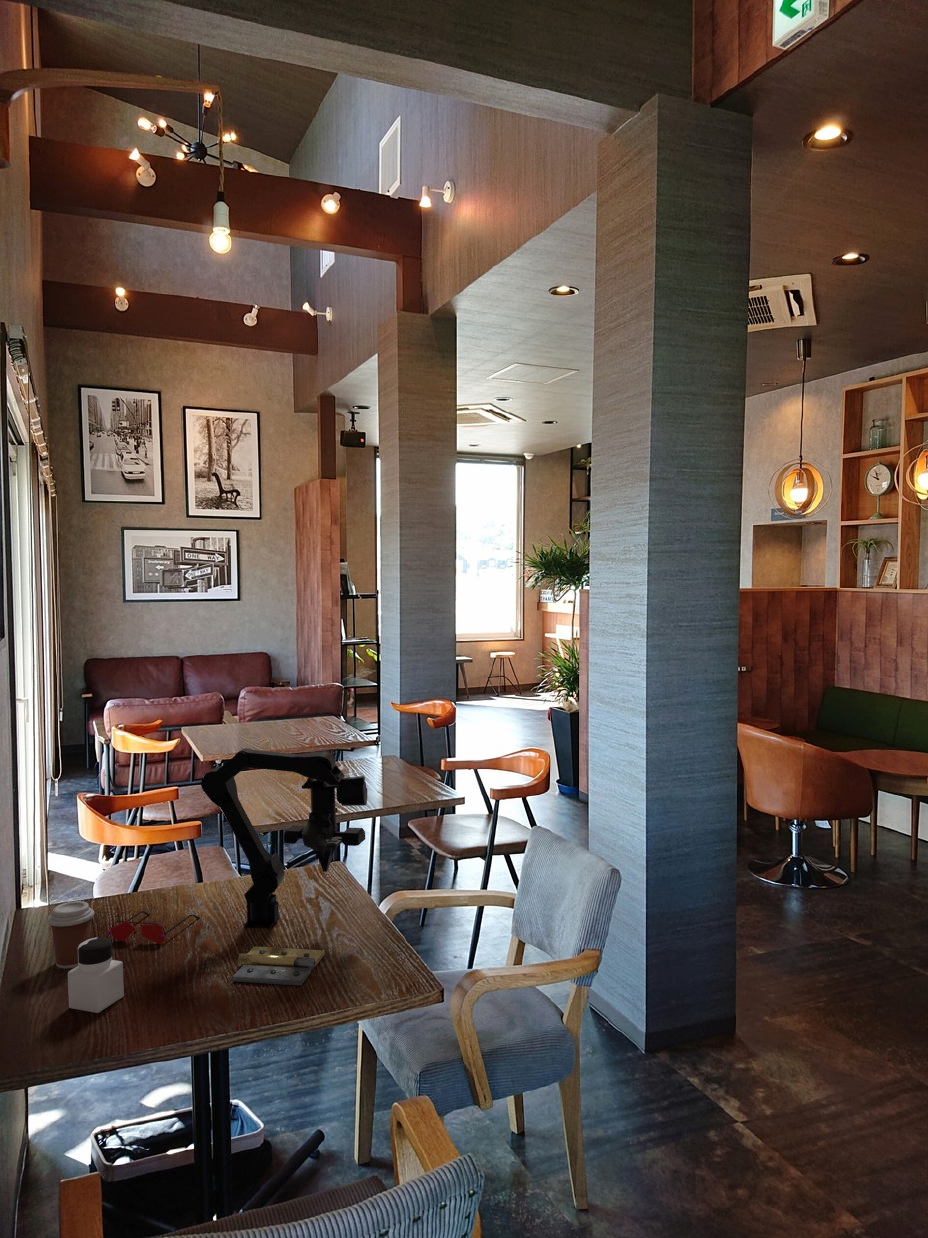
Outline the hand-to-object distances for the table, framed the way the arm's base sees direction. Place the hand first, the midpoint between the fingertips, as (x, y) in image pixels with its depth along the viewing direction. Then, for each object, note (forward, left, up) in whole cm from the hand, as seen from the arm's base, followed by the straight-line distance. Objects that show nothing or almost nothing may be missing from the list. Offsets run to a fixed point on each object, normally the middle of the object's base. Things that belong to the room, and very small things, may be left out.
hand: (325, 871), depth 204 cm
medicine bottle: (-31, -44, -12) cm, 55 cm away
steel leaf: (-2, -28, -12) cm, 31 cm away
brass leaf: (-2, -22, -12) cm, 25 cm away
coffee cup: (-47, -28, -12) cm, 56 cm away
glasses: (-39, -9, -13) cm, 42 cm away
